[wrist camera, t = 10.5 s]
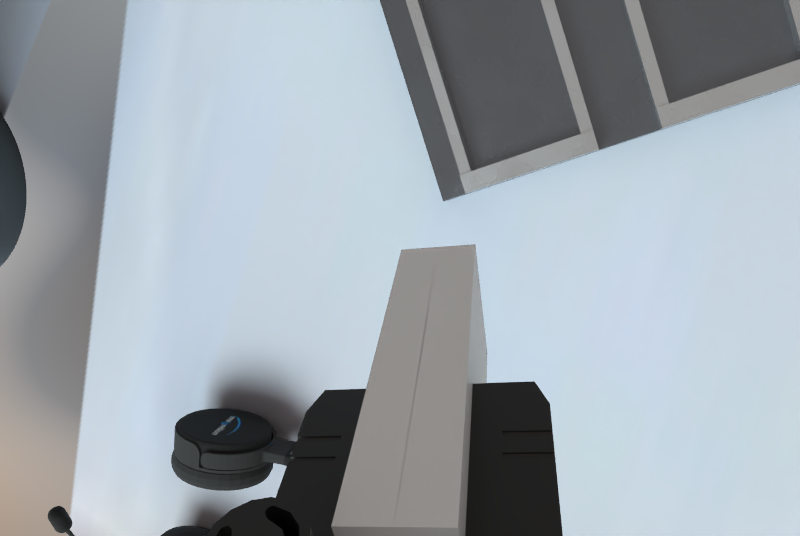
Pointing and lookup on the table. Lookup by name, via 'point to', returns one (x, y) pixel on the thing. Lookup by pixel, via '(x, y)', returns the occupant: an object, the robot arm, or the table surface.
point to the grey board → (577, 74)
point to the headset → (215, 457)
